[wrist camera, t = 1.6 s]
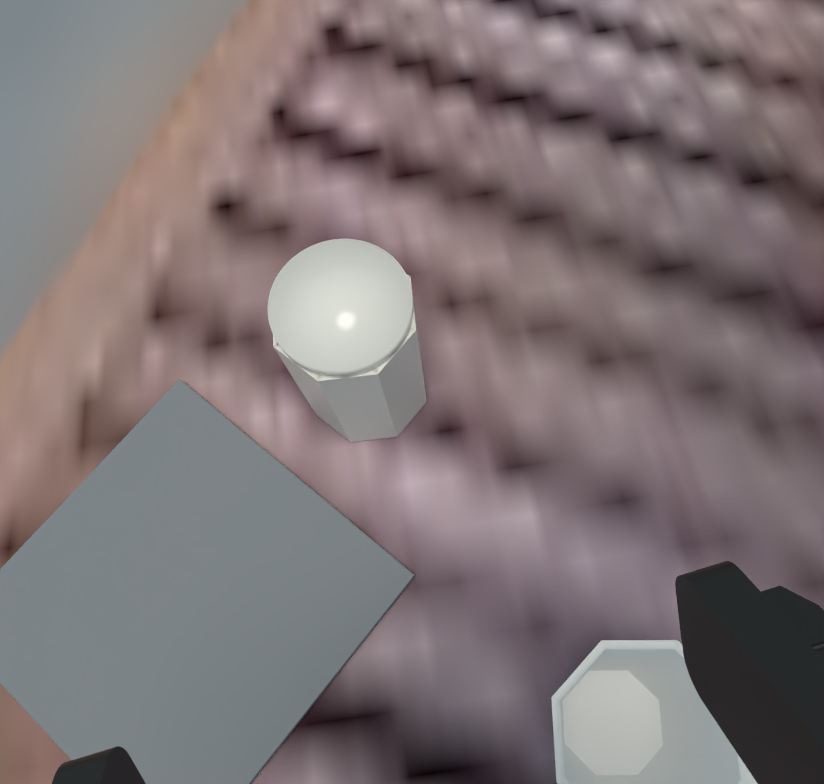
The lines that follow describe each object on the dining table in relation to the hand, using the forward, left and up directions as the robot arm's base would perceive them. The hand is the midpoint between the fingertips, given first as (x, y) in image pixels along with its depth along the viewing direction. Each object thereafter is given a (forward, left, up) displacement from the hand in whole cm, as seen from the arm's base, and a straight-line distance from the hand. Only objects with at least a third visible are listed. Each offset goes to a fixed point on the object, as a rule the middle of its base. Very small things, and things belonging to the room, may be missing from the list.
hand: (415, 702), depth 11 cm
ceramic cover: (-8, -12, -25) cm, 29 cm away
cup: (-3, +8, -25) cm, 27 cm away
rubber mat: (+6, -12, -25) cm, 28 cm away
